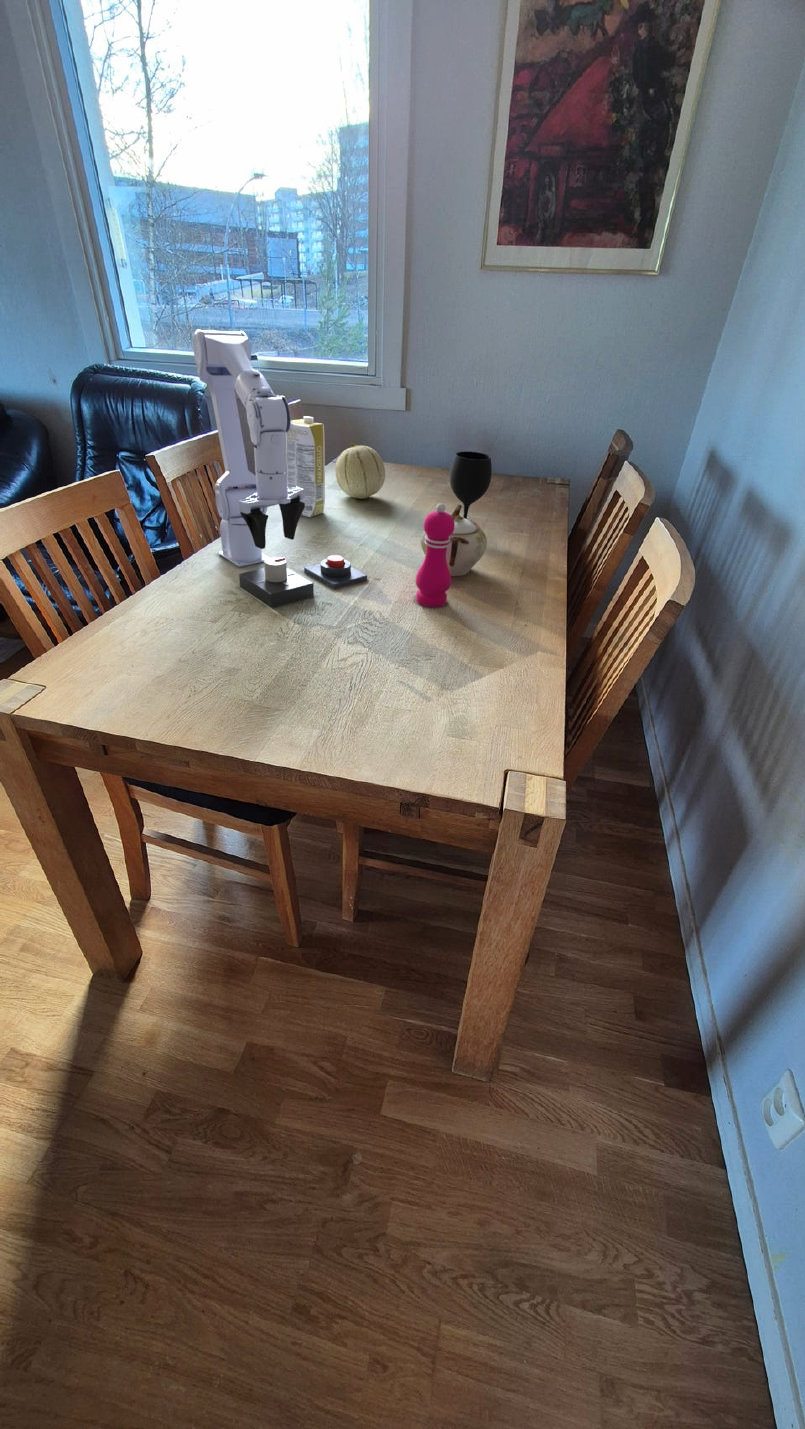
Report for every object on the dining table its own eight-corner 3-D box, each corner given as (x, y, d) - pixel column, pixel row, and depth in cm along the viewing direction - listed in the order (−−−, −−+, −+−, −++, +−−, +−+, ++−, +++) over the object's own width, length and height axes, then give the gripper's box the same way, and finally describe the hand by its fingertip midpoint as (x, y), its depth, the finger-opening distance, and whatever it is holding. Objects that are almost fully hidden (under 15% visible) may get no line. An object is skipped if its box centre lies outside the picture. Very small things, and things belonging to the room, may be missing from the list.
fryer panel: (240, 587, 127) (238, 572, 125) (281, 577, 133) (280, 563, 131) (271, 608, 120) (270, 593, 118) (313, 596, 126) (313, 582, 124)
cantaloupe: (383, 506, 179) (385, 452, 170) (332, 502, 178) (332, 447, 170) (384, 492, 191) (387, 440, 182) (337, 488, 190) (338, 436, 182)
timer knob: (272, 584, 122) (271, 565, 120) (260, 576, 124) (259, 558, 122) (291, 579, 124) (290, 560, 122) (279, 572, 127) (278, 554, 125)
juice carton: (328, 512, 171) (328, 418, 157) (310, 519, 165) (308, 422, 151) (302, 505, 174) (300, 412, 161) (283, 511, 169) (280, 416, 155)
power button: (323, 563, 133) (323, 557, 132) (337, 560, 135) (337, 553, 135) (333, 569, 131) (333, 562, 130) (347, 565, 133) (347, 559, 132)
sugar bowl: (483, 589, 135) (494, 521, 126) (415, 583, 135) (421, 514, 126) (481, 557, 151) (490, 494, 142) (420, 551, 151) (426, 488, 142)
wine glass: (438, 537, 160) (446, 456, 149) (450, 526, 168) (459, 448, 157) (476, 544, 158) (487, 463, 146) (486, 533, 166) (498, 454, 154)
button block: (304, 572, 135) (303, 559, 134) (336, 564, 141) (336, 551, 139) (334, 589, 129) (334, 576, 127) (367, 580, 134) (367, 567, 133)
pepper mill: (452, 597, 130) (464, 502, 118) (443, 611, 124) (454, 511, 113) (419, 591, 131) (428, 496, 120) (409, 604, 126) (417, 505, 114)
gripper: (255, 481, 106) (260, 557, 114) (315, 468, 115) (315, 539, 123) (228, 472, 109) (235, 547, 117) (288, 461, 119) (291, 530, 127)
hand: (275, 542), depth 120 cm, fingers open, 7 cm apart
